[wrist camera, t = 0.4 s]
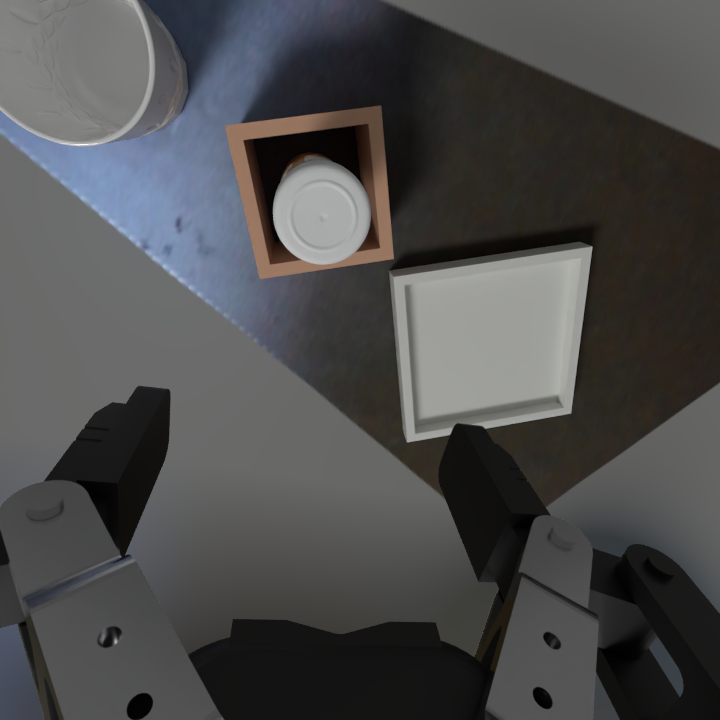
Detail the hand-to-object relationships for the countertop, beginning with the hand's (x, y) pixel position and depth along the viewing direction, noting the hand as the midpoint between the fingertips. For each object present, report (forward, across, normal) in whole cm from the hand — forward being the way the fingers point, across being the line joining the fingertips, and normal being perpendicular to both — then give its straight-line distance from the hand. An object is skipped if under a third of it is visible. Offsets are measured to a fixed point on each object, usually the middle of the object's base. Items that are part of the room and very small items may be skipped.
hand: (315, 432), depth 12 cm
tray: (+24, -17, +6) cm, 30 cm away
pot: (+24, 0, -4) cm, 24 cm away
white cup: (+24, +12, -9) cm, 28 cm away
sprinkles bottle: (+24, 0, -4) cm, 25 cm away
